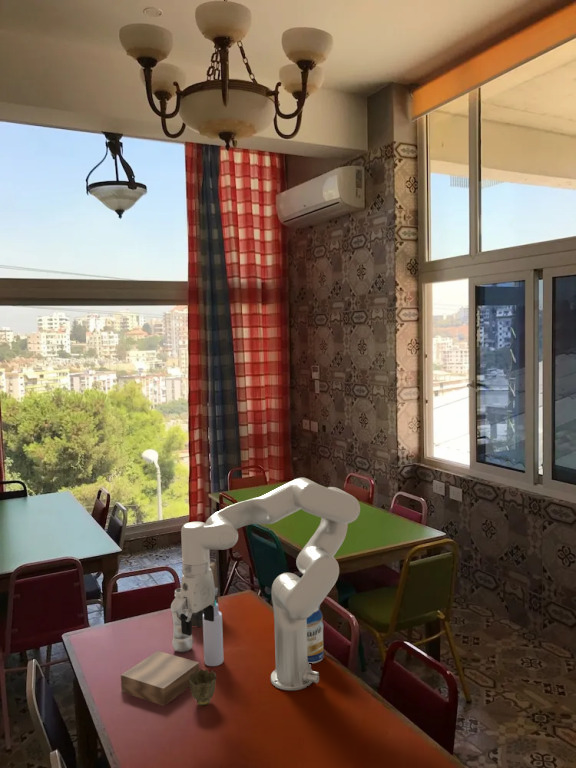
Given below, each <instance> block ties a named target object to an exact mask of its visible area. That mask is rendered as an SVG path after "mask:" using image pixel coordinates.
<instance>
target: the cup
mask: <svg viewBox="0 0 576 768" xmlns="http://www.w3.org/2000/svg"><path fill="white" fill-rule="evenodd" d="M216 680H217V672H214V670H211V672H209V670H208V669H205V670H204V669H199V672H198V673H197V671H195V674H194V673H192V674H190V677H189V681H190V687H189V688H190V692H191V695H192V697H193V698H194V700H196V704H197V705H198V706H200V707H206V706H208V705H209V704H210V702H211V699H212V698H213V697H214V694H215V691H216V683H217V682H216Z"/></svg>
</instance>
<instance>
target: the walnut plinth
mask: <svg viewBox="0 0 576 768" xmlns="http://www.w3.org/2000/svg"><path fill="white" fill-rule="evenodd" d="M195 671H197V673H198V672H199V671H200V662H198V661H195V660H192V659H187V658H185V657H180V656H178V655H173V654H170V653H166V652H163V651H160V650H157V651H156V652H154V653H152V654H151V655H149V656H148V657H146V658H145V659H143V660H141V661H140V662H139V663H136V665H133V667H131V668H129V669H128V670H126V671H125V672H122V674H120V687H121V693H124V694H127V695H130V696H133V697H136V698H139V699H142V700H146V701H147V702H151V703H153V704H157V705H160V706H163V707H165V706H167V705H168V704H169V703H170V702H172V701H173V700H174V699H175V698H177V697H178V696H179V695H181V694H182V693H183V692H185V691H186V690H187V689H188V688H191V687H190V681H189V677H190V674H192V673H194V674H195Z"/></svg>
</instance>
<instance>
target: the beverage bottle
mask: <svg viewBox="0 0 576 768" xmlns="http://www.w3.org/2000/svg"><path fill="white" fill-rule="evenodd" d="M320 607H321V604H320V605H319V607H318V608H317V609H316V610H315V612H314V613H313V614H312V615H311V616H309V617H308V618H306V619H307V658H308V664H309V663H312V664H317V663H320V662H321V661H322V660H323V659H324V622H323V620H324V619H323V618H324V617H323V614H322V611H321V609H320Z"/></svg>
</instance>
